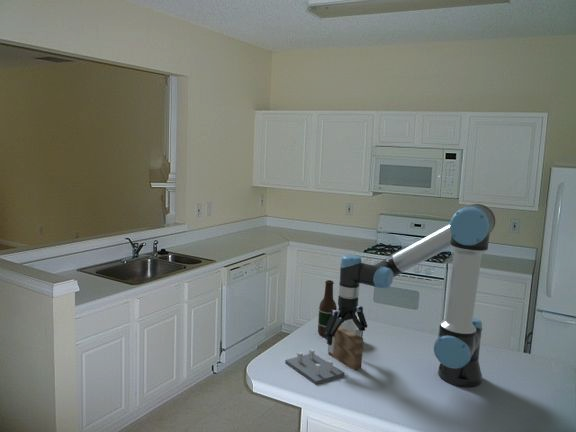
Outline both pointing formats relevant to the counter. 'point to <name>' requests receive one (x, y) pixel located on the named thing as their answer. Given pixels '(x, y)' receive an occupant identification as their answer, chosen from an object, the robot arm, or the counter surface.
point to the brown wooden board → (348, 348)
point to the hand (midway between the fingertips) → (344, 349)
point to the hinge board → (314, 367)
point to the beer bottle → (326, 307)
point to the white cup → (350, 325)
